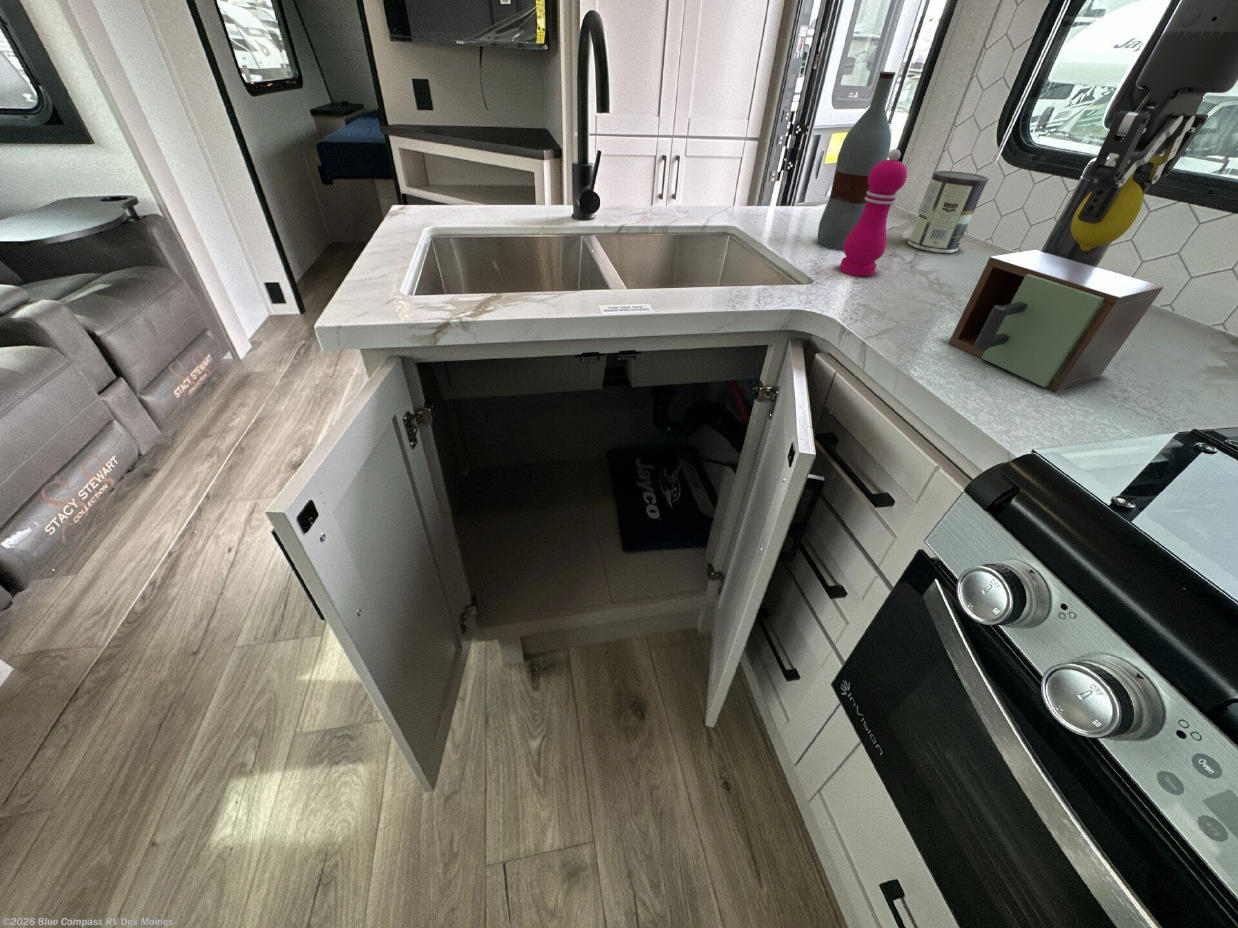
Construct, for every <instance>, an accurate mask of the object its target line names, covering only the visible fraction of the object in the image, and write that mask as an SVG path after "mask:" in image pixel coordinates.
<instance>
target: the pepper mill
mask: <svg viewBox="0 0 1238 928" xmlns="http://www.w3.org/2000/svg"><path fill="white" fill-rule="evenodd" d="M900 157H901V151H900V150H899V149H897V148H895V149H892V150H890V151H889V155H888V159H887V160H884V161H881V162H879V163H878V164H876V165H875V166H874V167H873V168H872V170H871V172H870V174H869V177H868V184H869V187H870V190H869V191H867V195H866V197H865V200H866V205H865V208H864V211H863V213H862V216H861V218H860V219H859V221H858V223H857V224H856V225H855V227H854V228H853V229H852V231H851V232H850V233H849V235H848V237H847V238H846V240H845V243H844V246H843V250H842V251H843V252H844V253H843V254H844V255H845V257H843V258H842V259H841V262H840V264H839V270H840V271H841V272H843V273H844V274H847V275H850V276H855V277H871V276H873V275H874V274H875V272H876V268H877V262H876V261H877V260H879V259H880V258H881V257H882V256H883V255H884V254H885V251H886V247H887V240H888V239H887V221H888V220H887V219H888V215H889V212H890V210H891V207H892V205H894V204H895V203H896V198H897V197H898V194H897V192H898V191H899V190H900V189H901V188H902V187H904V185H905V183H906V181H907V179H908V170H907V167H906V165H905V164H904V163H903V162H901V161H899V159H900Z"/></svg>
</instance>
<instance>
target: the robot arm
mask: <svg viewBox="0 0 1238 928" xmlns="http://www.w3.org/2000/svg"><path fill="white" fill-rule="evenodd" d="M1237 82H1238V0H1166V1H1165V4H1164V6H1163V8H1162V9H1161V11H1160V14H1159V15H1158V16H1157V18H1156V20H1155V22H1154V24H1153V26H1152V27H1151V29H1150V31H1149V32H1148V34H1147V36H1146V37H1145V40H1144V41H1143V43H1142V45H1141V46H1140V47H1139V50H1138V51H1137V53H1136V55H1135V57H1134V59H1133V60H1132V62H1131V64H1130V66H1129V67H1128V69H1127V70H1126V73H1125V74H1124V76H1123V77H1122V79H1121V81H1120V83H1119V85H1118V86H1117V87H1116V90H1115V91H1114V94H1113V95H1112V97H1111V99H1110V101H1109V103H1108V105H1107V107H1106V109H1105V112H1104V116H1103V117H1102V118H1103V119H1102V126H1103V128H1104V129H1106V130H1108V131H1107V134H1106V137H1105V138H1104V140H1103V143H1102V145H1101V147H1100V149H1099V152H1098V154H1097V155H1096V157H1095V158H1093V159H1091V160H1090V161H1089V162H1088V164H1087V165H1086V167H1085V168H1084V170H1083V172H1082V174H1081V176H1080V178H1079V179H1078V181H1077V183H1076V185H1075V187H1074V189H1073V191H1072V193H1071V195H1070V196H1069V197H1068V199H1067V202H1066V204H1065V206H1064V208H1063V209H1062V211H1061V213H1060V215H1059V216H1058V219H1057V220H1056V222H1055V224H1054V226H1053V228H1052V229H1051V231H1050V233H1049V235H1048V237H1047V239H1046V241H1045V243H1044V244H1043V246H1042V248H1041V250H1040V251H1041V252H1044V253H1048V254H1051V255H1055V256H1058V257H1062V258H1065V259H1069V260H1072V261H1076V262H1079V263H1083V264H1086V265H1090V266H1093V267H1097V268H1098V266H1099V265H1100V263H1101V261H1102V260H1103V258H1104V256H1105V255H1106V253H1107V252H1108V250H1109V248H1110V247H1111V245H1112V244H1113V242H1111V243H1108V244H1105V245H1102V246H1097V247H1094V248H1092V249H1090V250H1088V251H1083V250H1081V247H1080V244H1079V243H1078V242H1077V241H1076V240H1075V239H1074V238H1073V236H1072V233H1071V224H1072V220H1073V217H1074V215H1075V213H1076V211H1077V209H1078V207H1079V206H1080V204H1081V203H1082V202H1083V200H1084V199H1085V198H1086V197H1087V196H1088V195H1089V194H1090V193H1091V194H1090V196H1089V198H1088V200H1087V201H1086V203H1085V205H1084V207H1083V208H1082V210H1081V212H1080V214H1079V216H1078V219H1079V220H1080V221H1083V222H1088V223H1092V224H1095V223H1100V222H1101V221H1102V220H1103V219H1104V217H1105V215H1106V214H1107V212H1108V210H1109V208H1110V207H1111V205H1112V203H1113V202H1114V200H1115V198H1116V197H1117V195H1118V193H1119V192H1120V190H1121V188H1122V187H1121V186H1122V185H1123V184H1124V183H1125V182H1126V181H1127V179H1128V178H1129V177H1130V176H1131V177H1132V179H1133V181H1134V182H1136V183H1137V184H1138V185H1139V186H1140V187H1141V189H1142V192H1143V197H1144V196H1145V194H1146V193H1147V191H1148V189H1149V188H1150V187H1151V185H1154V184H1155V183H1156V182H1157V181H1158V180H1159V179H1160V178H1166V177H1167V176H1169V174H1170V173H1171V172H1172V170H1173V169H1174V167H1176V165H1177V163H1178V162H1179V160H1180V159H1181V158H1182V157H1183V155H1184V153H1185V152H1186V150H1188V148H1189V146H1190V145H1191V144H1192V142H1193V141H1194V139H1195V138H1196V136H1197V135H1198V134H1199V132H1200V131H1201V129H1202V128H1203V127H1204V125H1205V124H1206V123H1207V121H1208V118H1209V114H1204V113H1199V112H1198V111H1199V110H1200V109H1199V108H1200V106H1201V104H1202V102H1203V100H1204V98H1205V97H1206V95H1207V94H1224V93H1227V92H1229V91H1231V90H1232V89H1233V88H1234V87H1235V85H1236V84H1237Z"/></svg>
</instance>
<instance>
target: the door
mask: <svg viewBox="0 0 1238 928" xmlns="http://www.w3.org/2000/svg"><path fill="white" fill-rule="evenodd" d="M1104 299H1105V298H1103V297H1100V296H1097V295H1093V294H1090V293H1087V292H1084V291H1081V290H1078V289H1075V288H1072V287H1069V286H1065V285H1062V284H1059V283H1056V282H1053V281H1050V280H1047V279H1044V278H1040V277H1037V276H1034V275H1031V274H1028V275H1026V276H1025V278H1024V280H1023V281H1022V283H1021V285H1020V287H1019V289H1018V291H1017V293H1016V294H1015V296H1014V298H1013V300H1012V302H1011V304H1007V305H1002V306H1000V305H996V306H994V307H993V309H992V311H991V313H990V315H989V317H988V319H987V321H986V323H985V325H984V327H983V329H982V331H981V332H980V334H979V336H978V338H977V340H976V342H975V344H974V347H975V348H977V349H980V350H985V352H984V354H983V356H982V358H981V359H982V360H984V361H986V362H988V363H991V364H992V365H995V366H998V367H999V368H1002V369H1004V370H1006V371H1007V372H1009V373H1012V374H1014V375H1017V376H1019V377H1021V378H1022V379H1025V380H1027V381H1030V382H1032V383H1034V384H1036V385H1038V386H1040V387H1042V388H1045V387H1046V386H1048V385H1049V383H1050V382H1051V380H1052V379H1053V377H1054V376H1055V374H1056V373H1057V371H1058V370H1059V368H1060V366H1061V365H1062V363H1063V362H1064V360H1065V359H1066V357H1067V356H1068V354H1069V353H1070V351H1071V350H1072V348H1073V346H1074V345H1075V343H1076V342H1077V340H1078V339H1079V337H1080V336H1081V334H1082V333H1083V331H1084V330H1085V328H1086V327H1087V325H1088V323H1089V322H1090V320H1091V319H1092V317H1093V316H1094V314H1095V313H1096V311H1097V310H1098V308H1099V307H1100V305H1101V304H1102V302H1103V300H1104Z"/></svg>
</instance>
